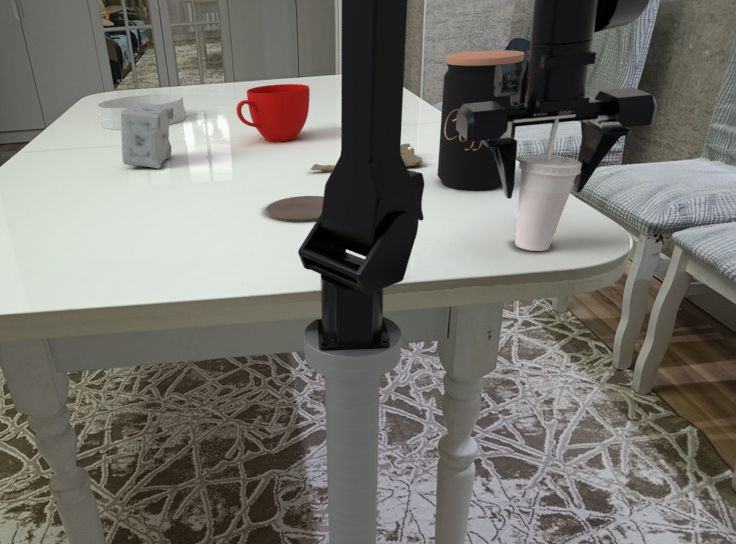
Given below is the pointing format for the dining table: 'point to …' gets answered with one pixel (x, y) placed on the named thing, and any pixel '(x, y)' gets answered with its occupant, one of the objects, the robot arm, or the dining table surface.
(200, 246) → the dining table surface
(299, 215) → the coaster
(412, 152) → the jawbone
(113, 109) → the dish
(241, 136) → the dining table surface
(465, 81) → the coffee jar
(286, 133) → the ceramic cup
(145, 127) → the incense holder
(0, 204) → the dining table surface
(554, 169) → the smoothie
